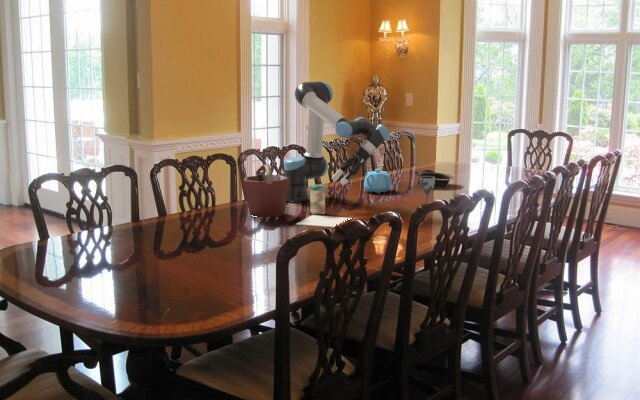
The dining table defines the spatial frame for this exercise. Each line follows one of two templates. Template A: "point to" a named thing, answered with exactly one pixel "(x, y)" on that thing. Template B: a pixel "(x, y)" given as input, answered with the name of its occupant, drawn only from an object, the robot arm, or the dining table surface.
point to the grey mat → (322, 221)
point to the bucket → (266, 193)
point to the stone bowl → (436, 178)
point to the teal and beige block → (317, 199)
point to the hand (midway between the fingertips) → (337, 181)
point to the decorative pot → (377, 181)
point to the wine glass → (427, 184)
